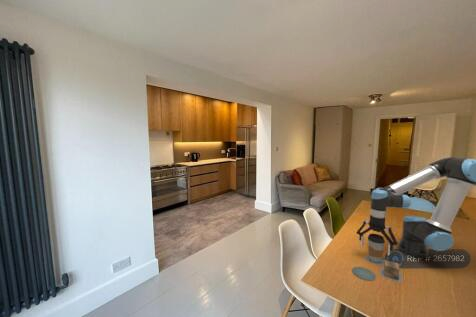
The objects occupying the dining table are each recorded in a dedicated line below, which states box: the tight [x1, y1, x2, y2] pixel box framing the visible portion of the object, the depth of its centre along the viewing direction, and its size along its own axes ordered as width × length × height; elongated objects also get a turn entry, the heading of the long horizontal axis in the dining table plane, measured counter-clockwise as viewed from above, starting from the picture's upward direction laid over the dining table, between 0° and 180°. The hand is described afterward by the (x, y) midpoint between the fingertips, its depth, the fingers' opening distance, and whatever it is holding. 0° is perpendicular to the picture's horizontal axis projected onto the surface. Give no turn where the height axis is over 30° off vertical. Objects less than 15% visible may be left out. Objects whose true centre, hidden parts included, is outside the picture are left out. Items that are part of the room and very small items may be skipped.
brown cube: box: [383, 259, 400, 280], centre depth 109 cm, size 6×6×6 cm
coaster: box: [351, 266, 377, 282], centre depth 110 cm, size 11×11×1 cm
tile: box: [364, 253, 386, 268], centre depth 123 cm, size 9×9×1 cm
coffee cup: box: [367, 233, 386, 263], centre depth 122 cm, size 8×8×15 cm
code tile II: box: [379, 267, 403, 284], centre depth 109 cm, size 9×9×1 cm
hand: (374, 250), depth 122 cm, fingers open, 13 cm apart
